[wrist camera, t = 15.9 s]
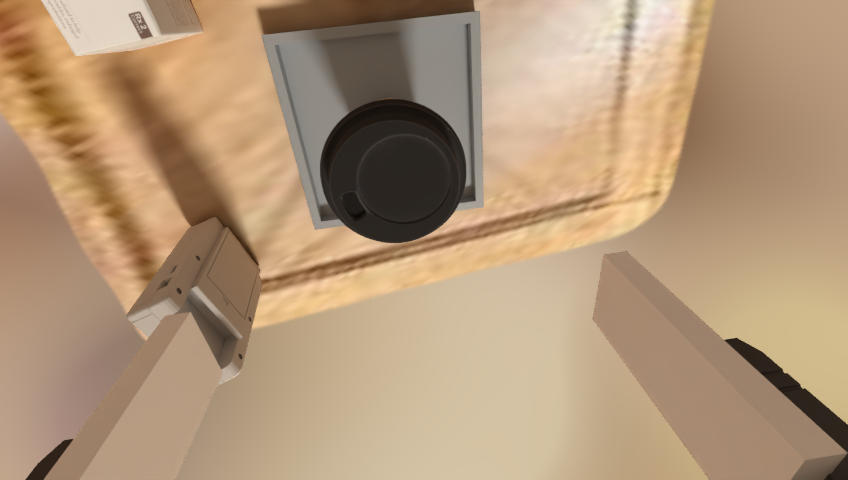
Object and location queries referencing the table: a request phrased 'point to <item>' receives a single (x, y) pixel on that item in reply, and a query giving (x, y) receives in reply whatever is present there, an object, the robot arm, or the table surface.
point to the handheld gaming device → (206, 292)
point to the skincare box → (121, 23)
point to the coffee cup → (393, 170)
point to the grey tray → (378, 87)
